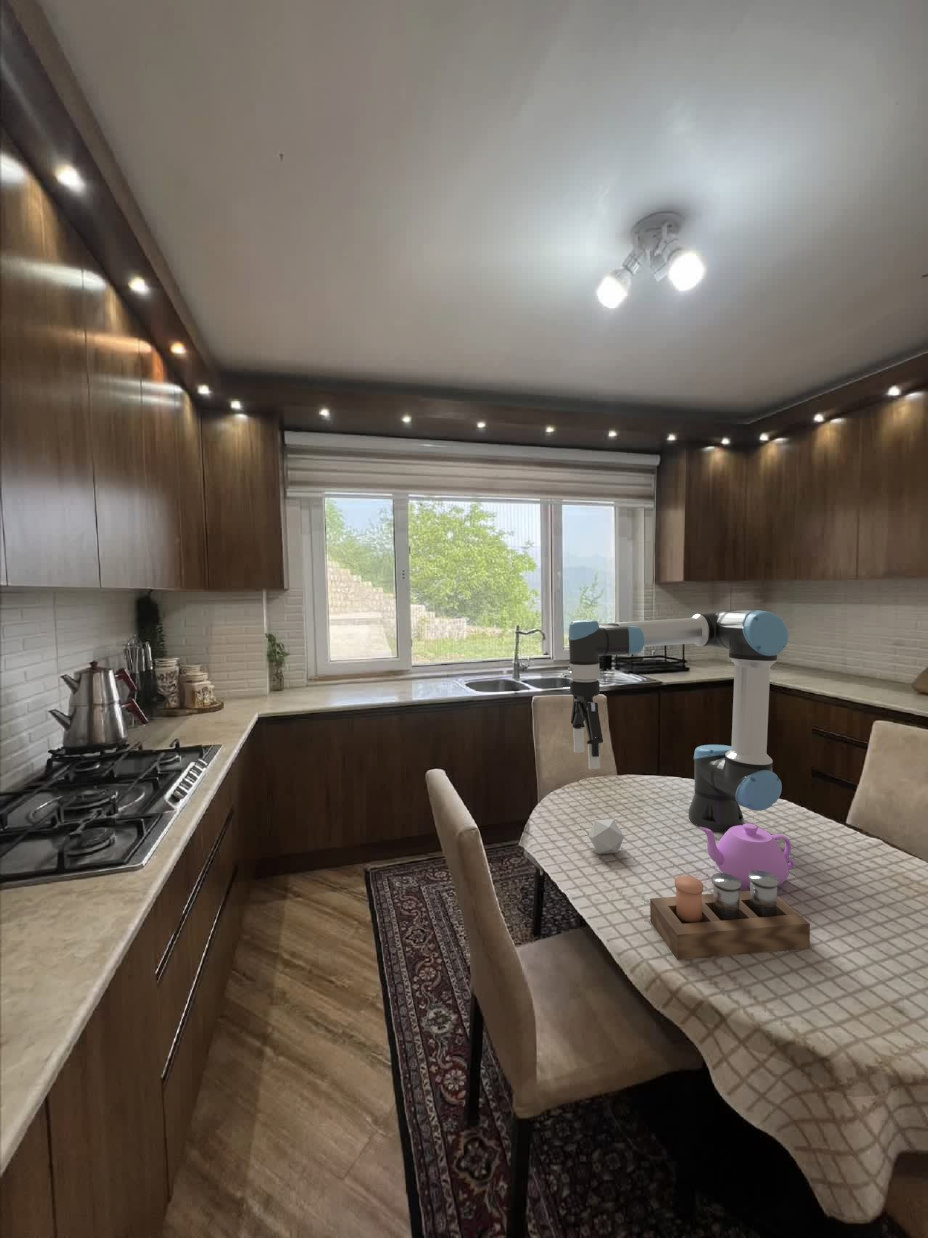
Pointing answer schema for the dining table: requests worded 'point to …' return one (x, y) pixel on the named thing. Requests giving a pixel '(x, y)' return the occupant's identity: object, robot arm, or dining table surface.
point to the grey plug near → (763, 892)
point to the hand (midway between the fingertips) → (586, 760)
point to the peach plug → (689, 898)
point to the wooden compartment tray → (729, 929)
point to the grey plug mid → (726, 895)
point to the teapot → (749, 853)
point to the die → (606, 836)
